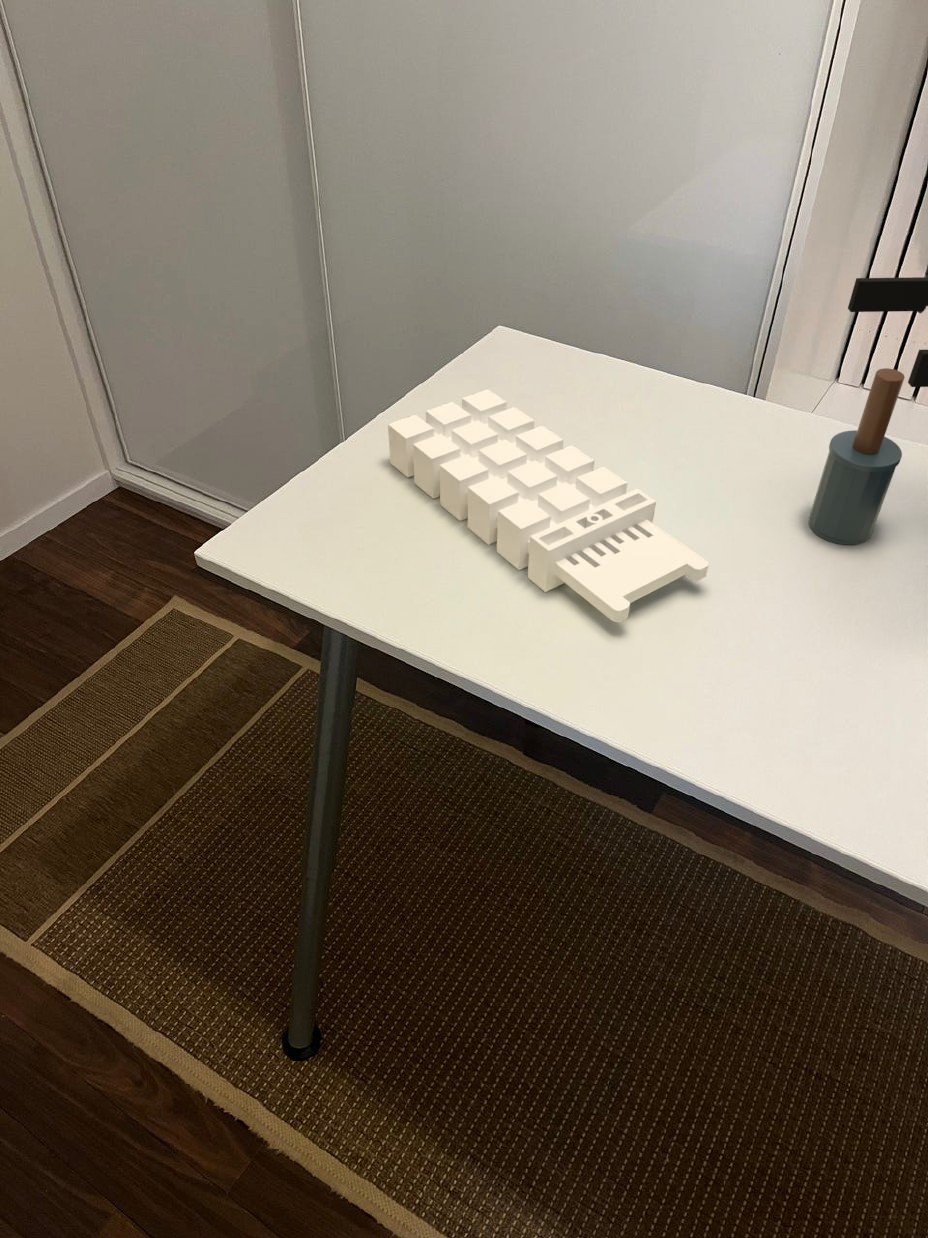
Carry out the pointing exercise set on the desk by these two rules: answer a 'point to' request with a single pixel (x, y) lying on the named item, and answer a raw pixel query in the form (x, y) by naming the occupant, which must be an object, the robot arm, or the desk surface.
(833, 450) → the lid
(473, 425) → the organizer
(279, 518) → the desk surface
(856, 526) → the tin
